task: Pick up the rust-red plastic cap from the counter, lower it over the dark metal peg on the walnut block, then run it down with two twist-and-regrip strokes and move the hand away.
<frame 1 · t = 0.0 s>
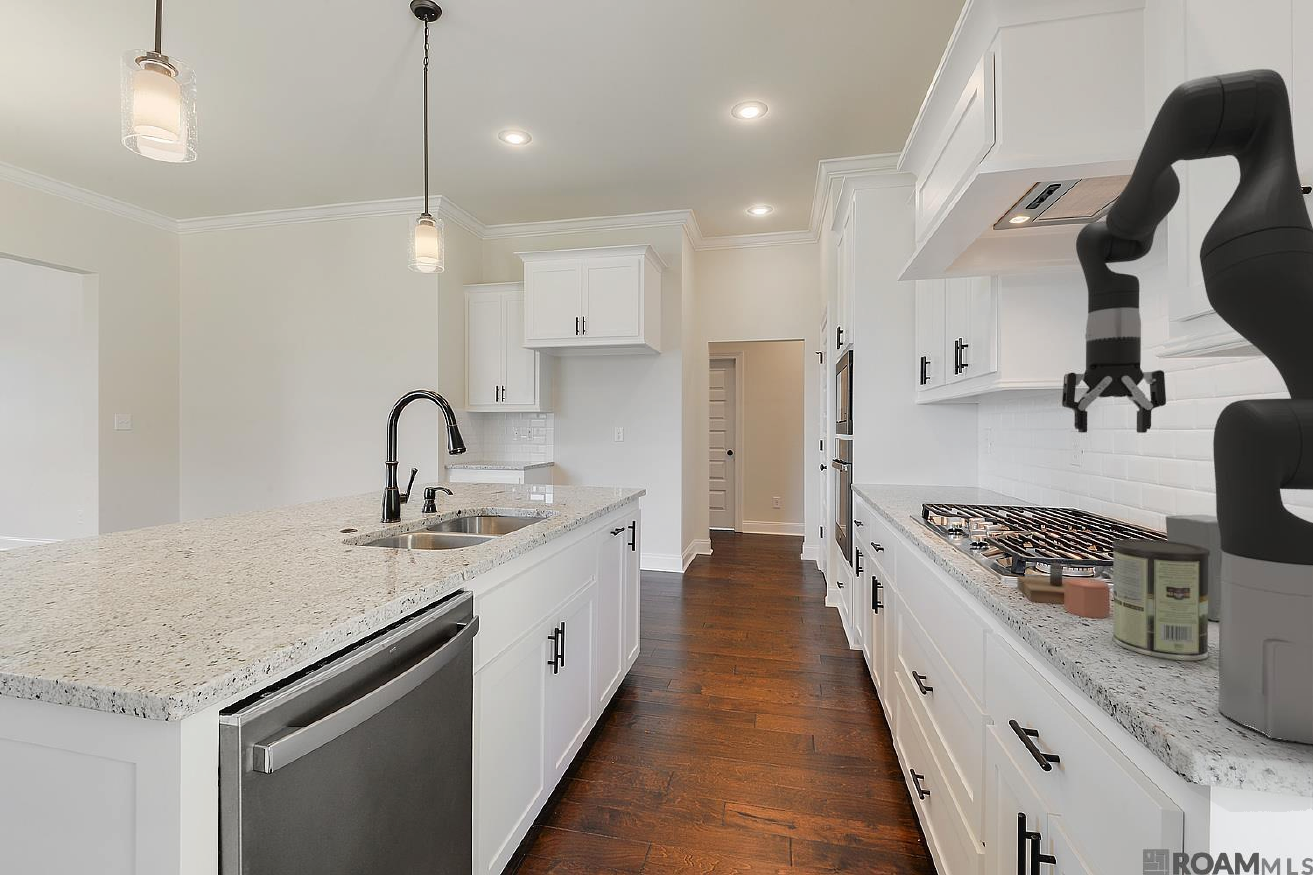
hand: (1112, 432, 104), 29 cm above the worktop, tool pointing down, fingers open, 8 cm apart
cap: (1086, 612, 99), on the worktop
coffee can: (1157, 648, 84), on the worktop
skincare box: (1206, 615, 98), on the worktop
peg block: (1055, 596, 108), on the worktop
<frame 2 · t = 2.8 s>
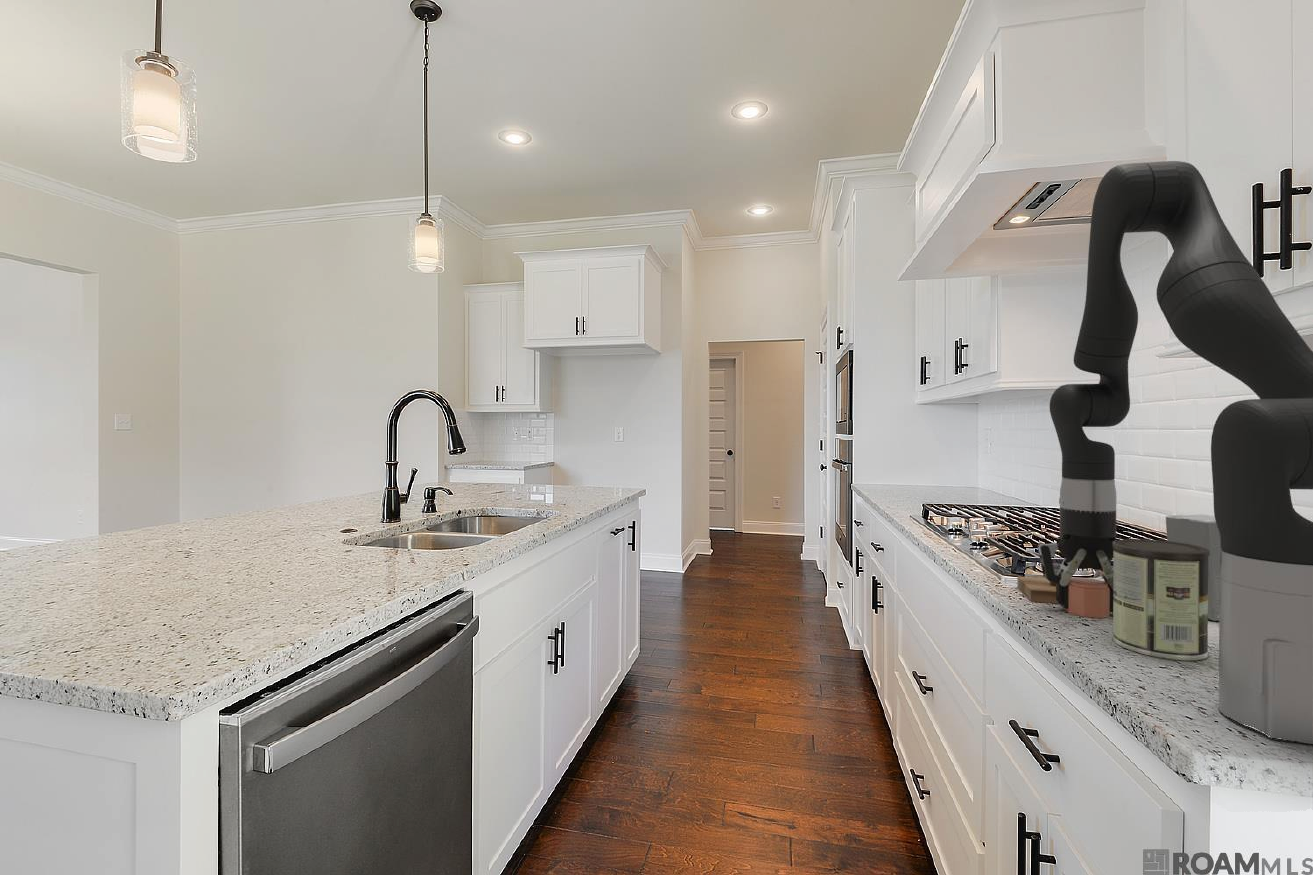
hand: (1086, 608, 99), 1 cm above the worktop, tool pointing down, fingers closed on cap, 5 cm apart
cap: (1086, 612, 99), on the worktop, touching gripper
everything else where it was.
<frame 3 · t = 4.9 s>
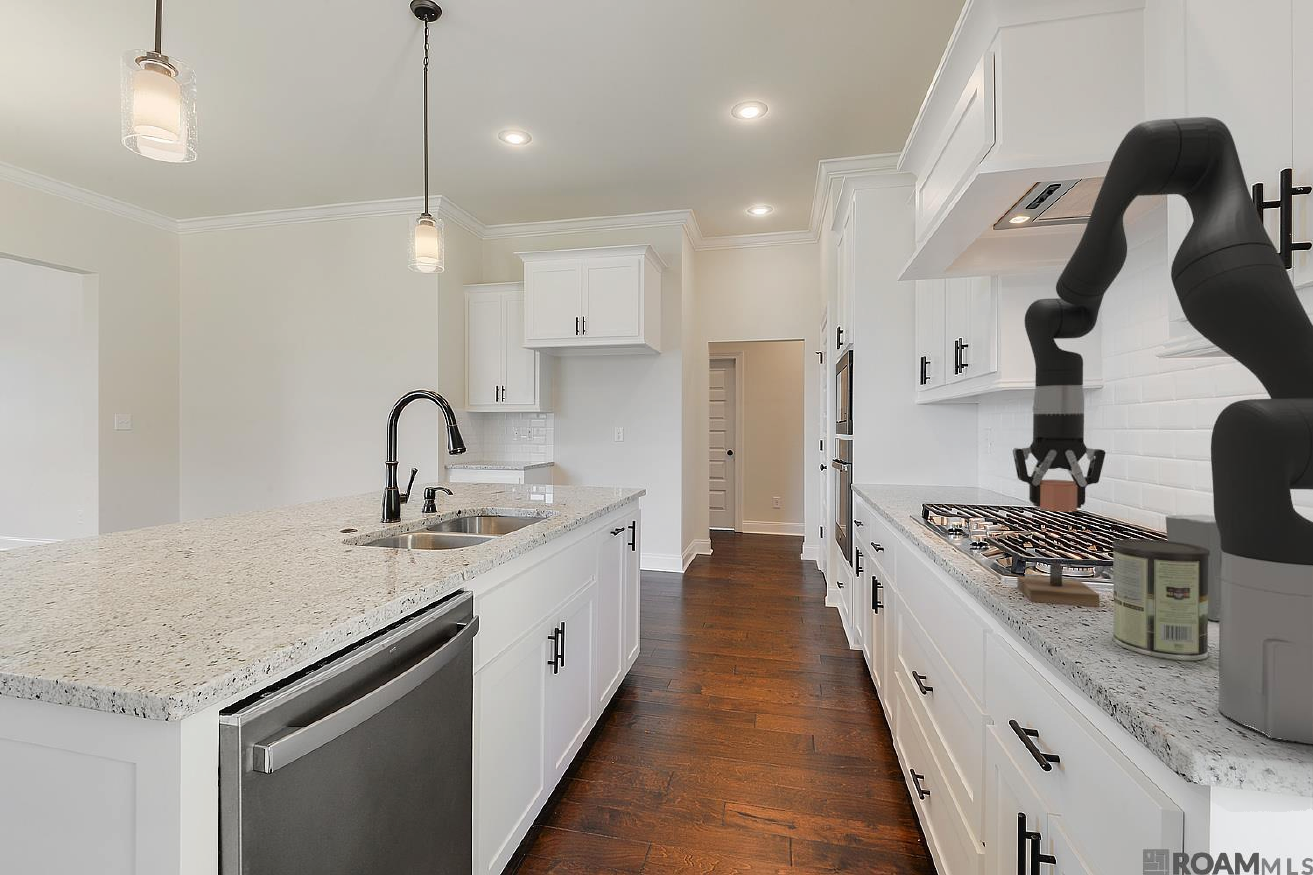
hand: (1056, 506, 108), 16 cm above the worktop, tool pointing down, fingers closed on cap, 5 cm apart
cap: (1056, 509, 108), point 16 cm above the worktop, touching gripper
everything else where it was.
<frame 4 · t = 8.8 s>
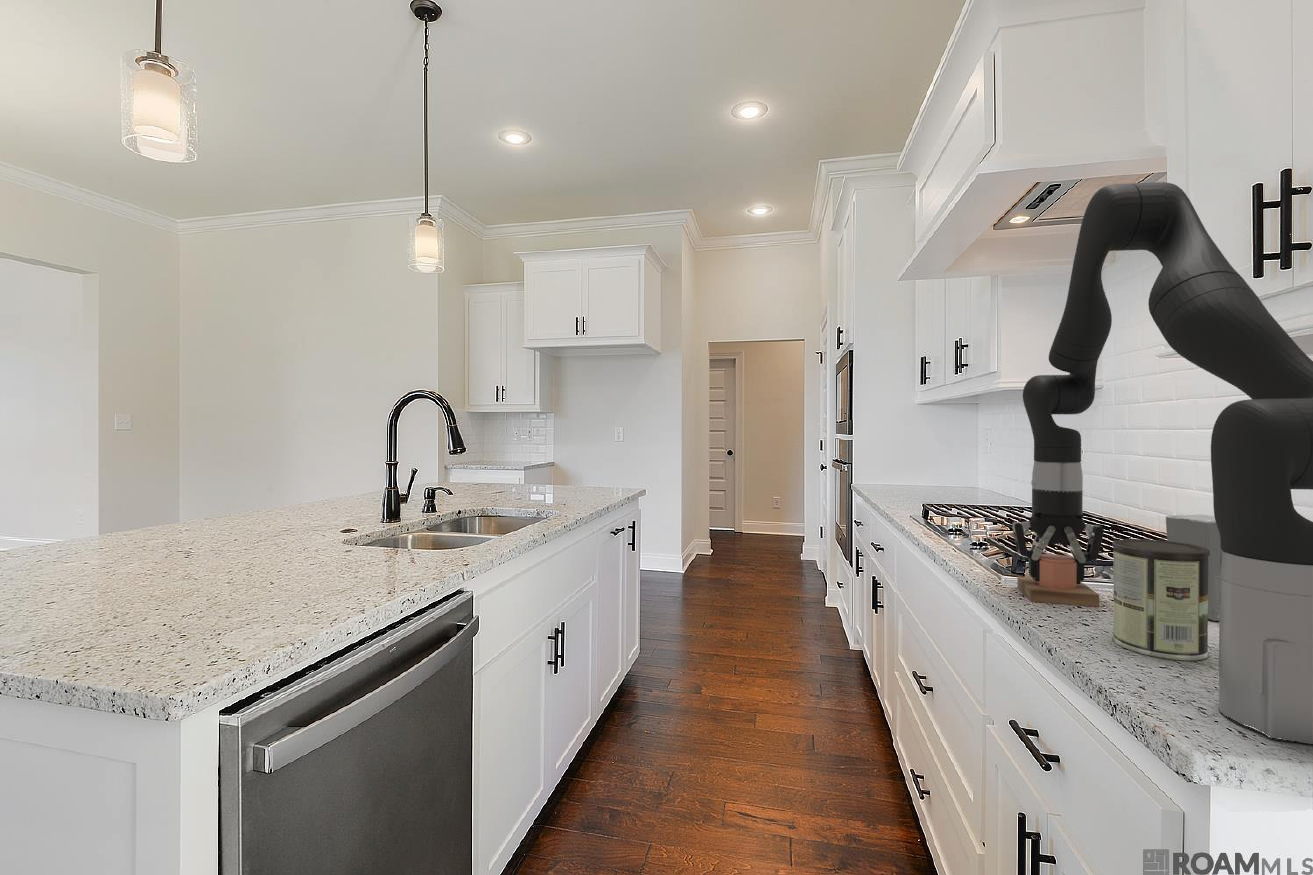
hand: (1056, 581, 108), 3 cm above the worktop, tool pointing down, fingers closed on cap, 5 cm apart
cap: (1055, 585, 108), point 2 cm above the worktop, touching gripper, peg block
everything else where it was.
when the fingers open (3 cm above the worktop, at t = 10.1 s): cap stays where it is, resting on peg block.
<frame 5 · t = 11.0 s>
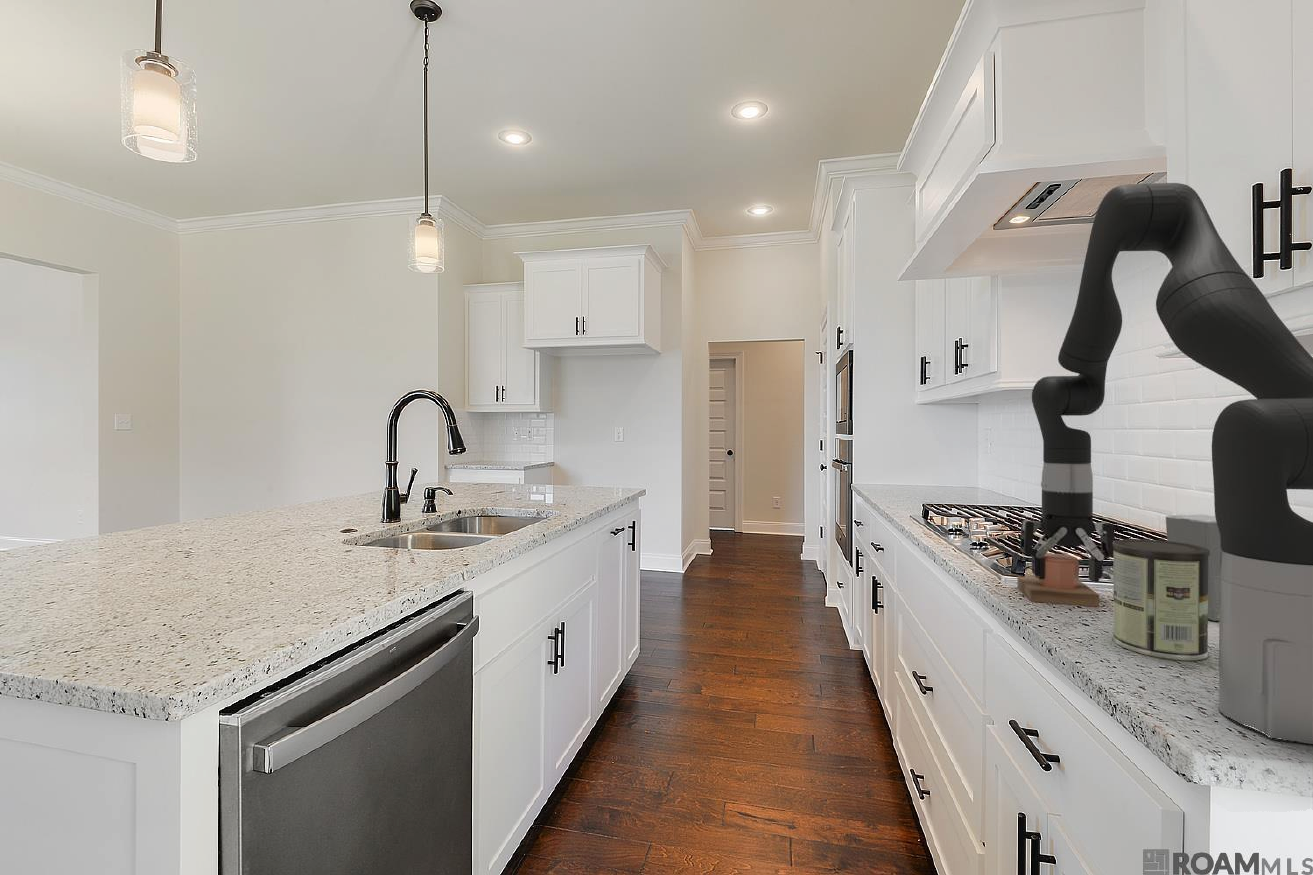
hand: (1066, 579, 108), 3 cm above the worktop, tool pointing down, fingers open, 8 cm apart
cap: (1058, 584, 109), point 2 cm above the worktop, touching peg block
everything else where it was.
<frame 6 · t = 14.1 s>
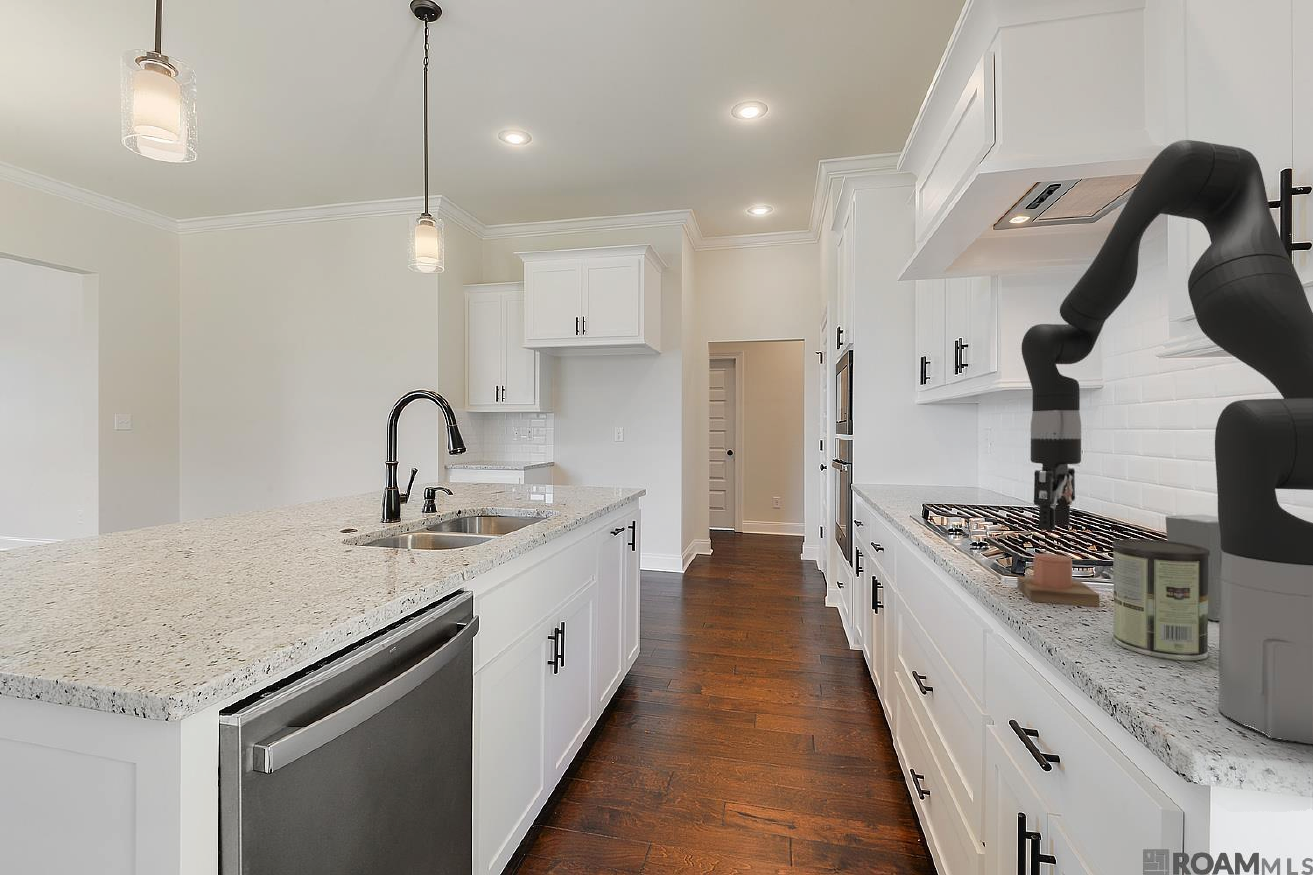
hand: (1054, 527, 108), 12 cm above the worktop, tool pointing down, fingers open, 8 cm apart
cap: (1052, 584, 109), point 2 cm above the worktop, touching peg block
everything else where it was.
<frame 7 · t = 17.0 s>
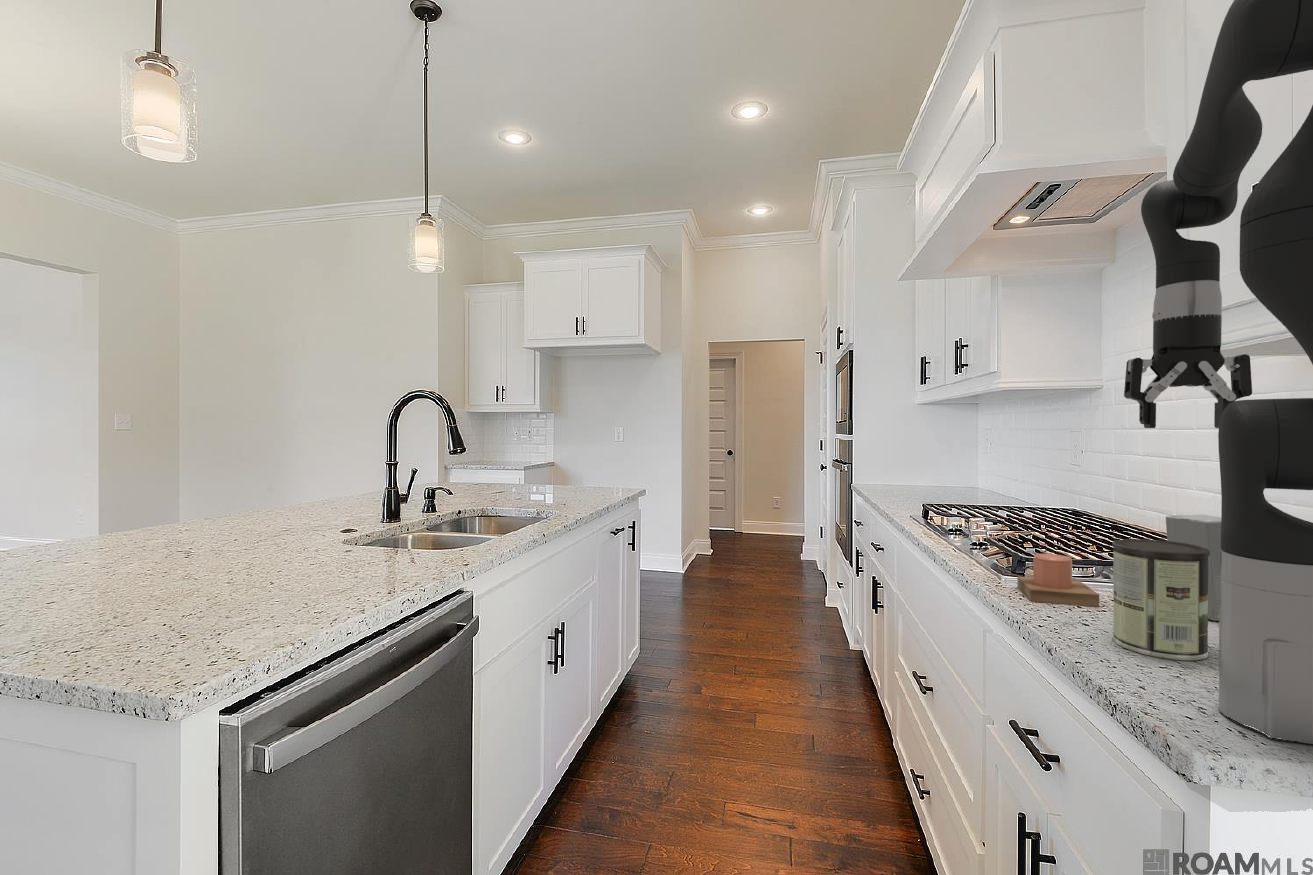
hand: (1185, 428, 89), 30 cm above the worktop, tool pointing down, fingers open, 8 cm apart
nothing on the worktop moved.
at the end: cap 0.5 cm off-centre on the peg block, point 2.0 cm above the peg block's base; cap tilted 0°; the gripper is holding nothing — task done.
